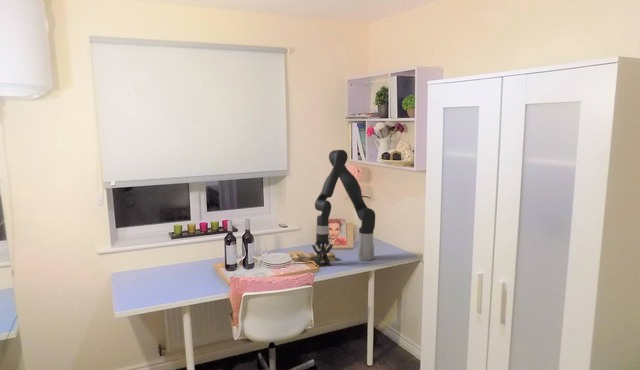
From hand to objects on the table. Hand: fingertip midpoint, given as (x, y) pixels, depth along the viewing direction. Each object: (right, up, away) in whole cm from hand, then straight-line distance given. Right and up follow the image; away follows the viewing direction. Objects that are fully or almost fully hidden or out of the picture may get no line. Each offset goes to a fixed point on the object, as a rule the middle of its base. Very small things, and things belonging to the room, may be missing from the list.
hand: (322, 260), depth 274 cm
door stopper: (0, -3, 0) cm, 3 cm away
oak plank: (-6, -2, +8) cm, 11 cm away
